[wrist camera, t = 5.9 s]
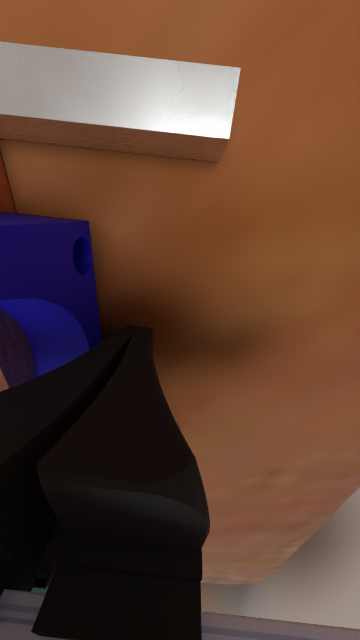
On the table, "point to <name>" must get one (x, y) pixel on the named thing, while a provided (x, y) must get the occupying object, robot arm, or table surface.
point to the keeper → (105, 124)
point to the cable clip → (49, 286)
